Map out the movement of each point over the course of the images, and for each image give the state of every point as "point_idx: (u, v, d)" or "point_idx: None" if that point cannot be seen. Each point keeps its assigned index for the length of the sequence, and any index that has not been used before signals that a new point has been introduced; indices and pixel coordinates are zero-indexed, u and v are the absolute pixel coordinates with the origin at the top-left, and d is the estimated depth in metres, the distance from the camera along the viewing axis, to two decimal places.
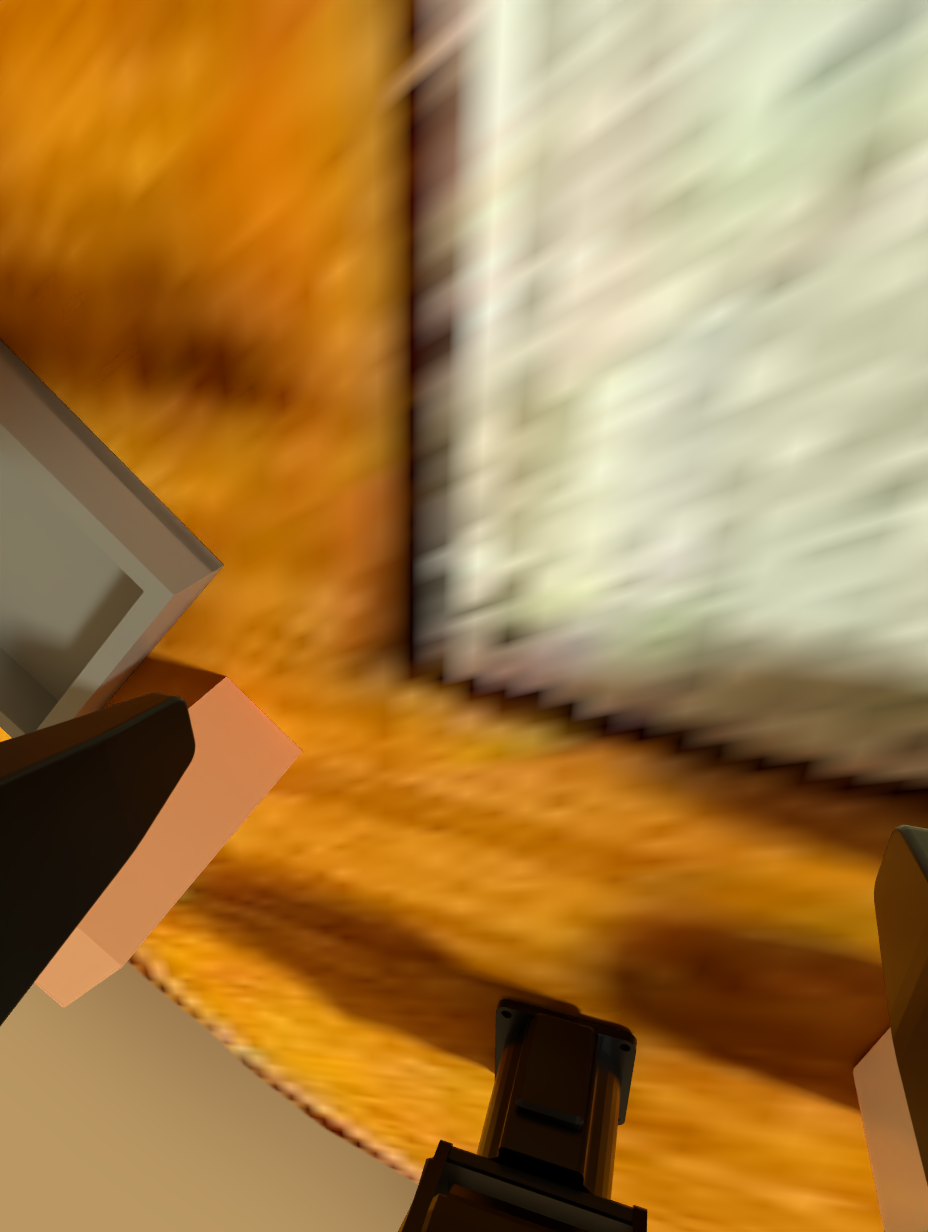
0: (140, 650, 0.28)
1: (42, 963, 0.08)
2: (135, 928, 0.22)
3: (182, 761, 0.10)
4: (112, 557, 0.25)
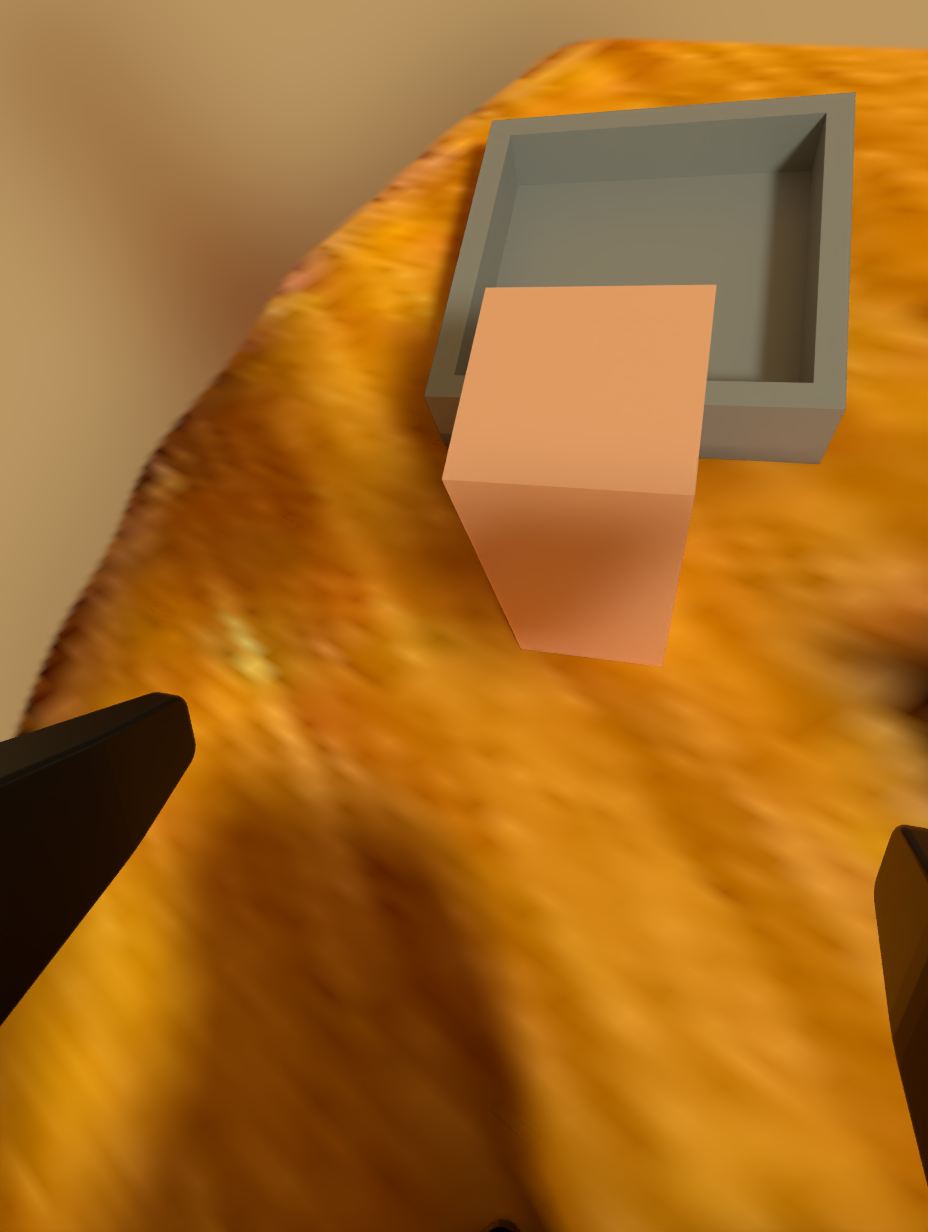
0: None
1: (41, 963, 0.08)
2: None
3: (182, 761, 0.10)
4: (819, 340, 0.21)
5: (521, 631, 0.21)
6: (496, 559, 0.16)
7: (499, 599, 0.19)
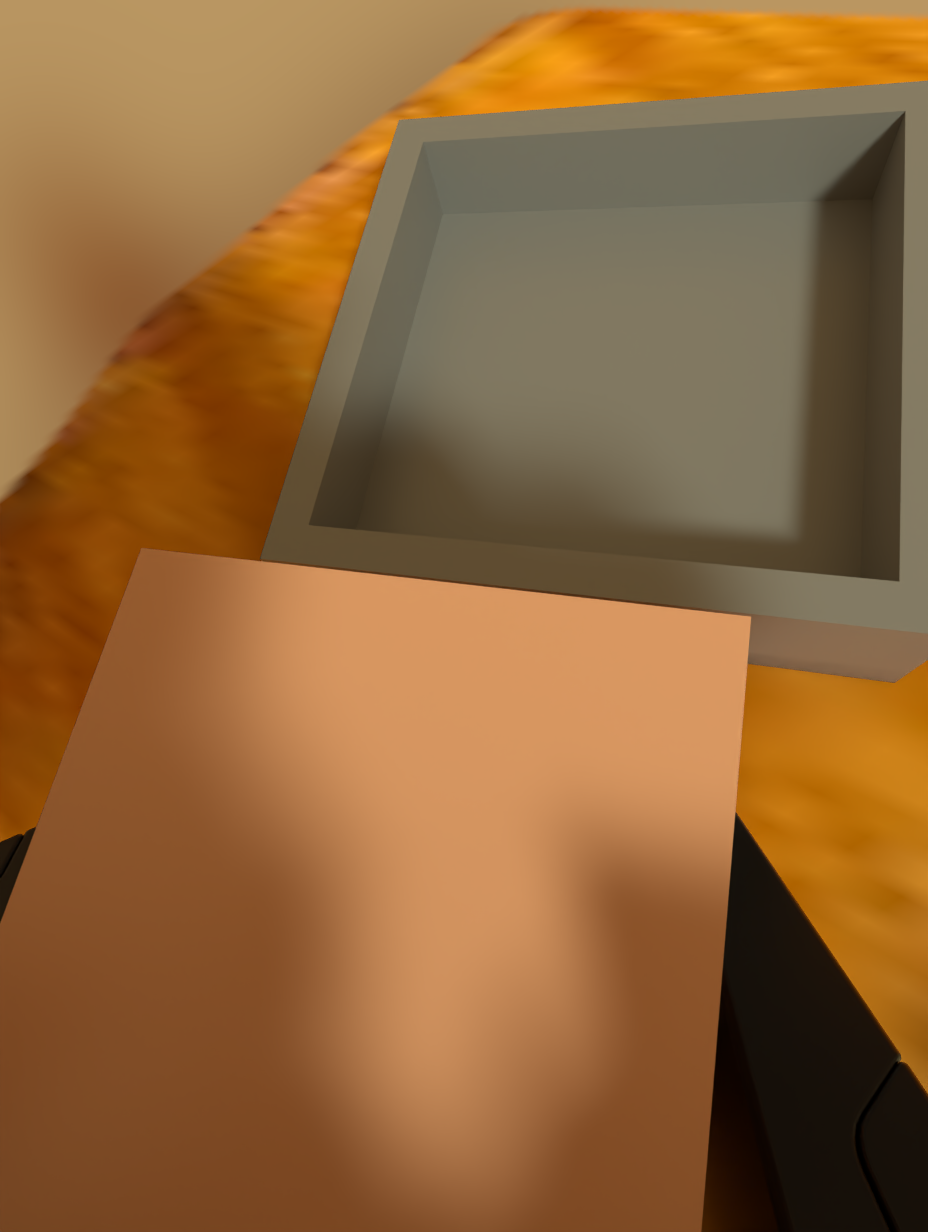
0: None
1: None
2: None
3: None
4: (906, 501, 0.12)
5: None
6: None
7: None
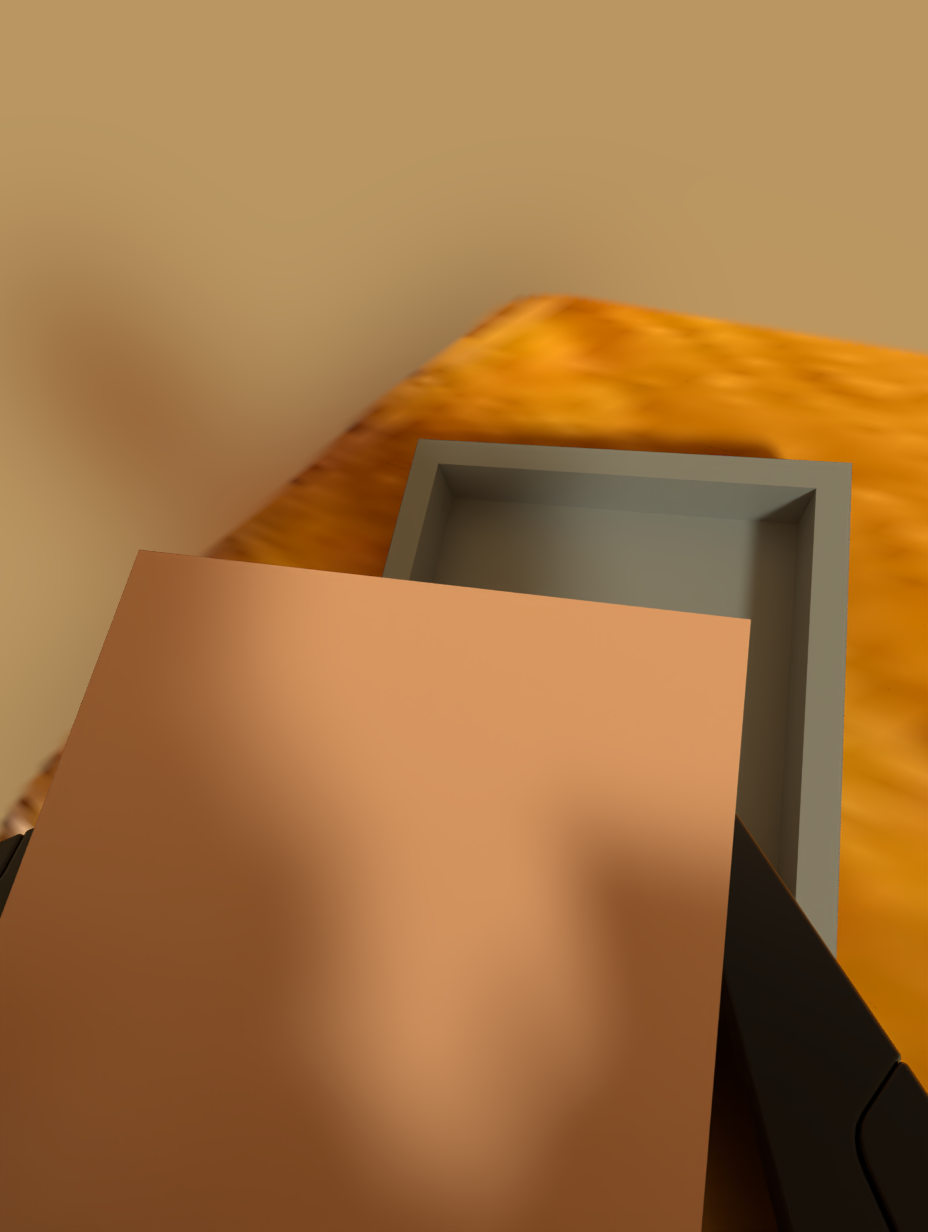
0: None
1: None
2: None
3: None
4: (802, 843, 0.17)
5: None
6: None
7: None
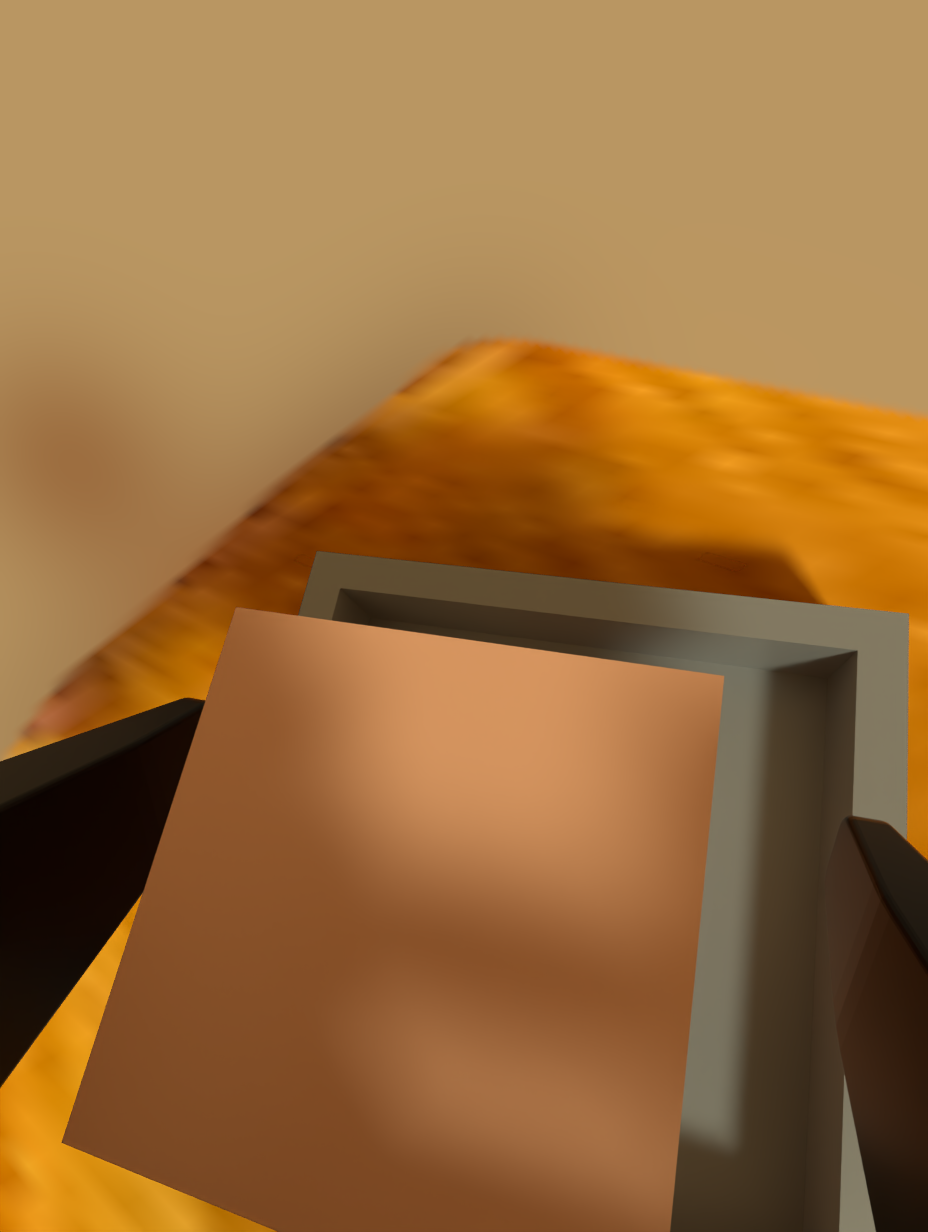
0: None
1: (77, 974, 0.08)
2: None
3: None
4: None
5: None
6: None
7: None
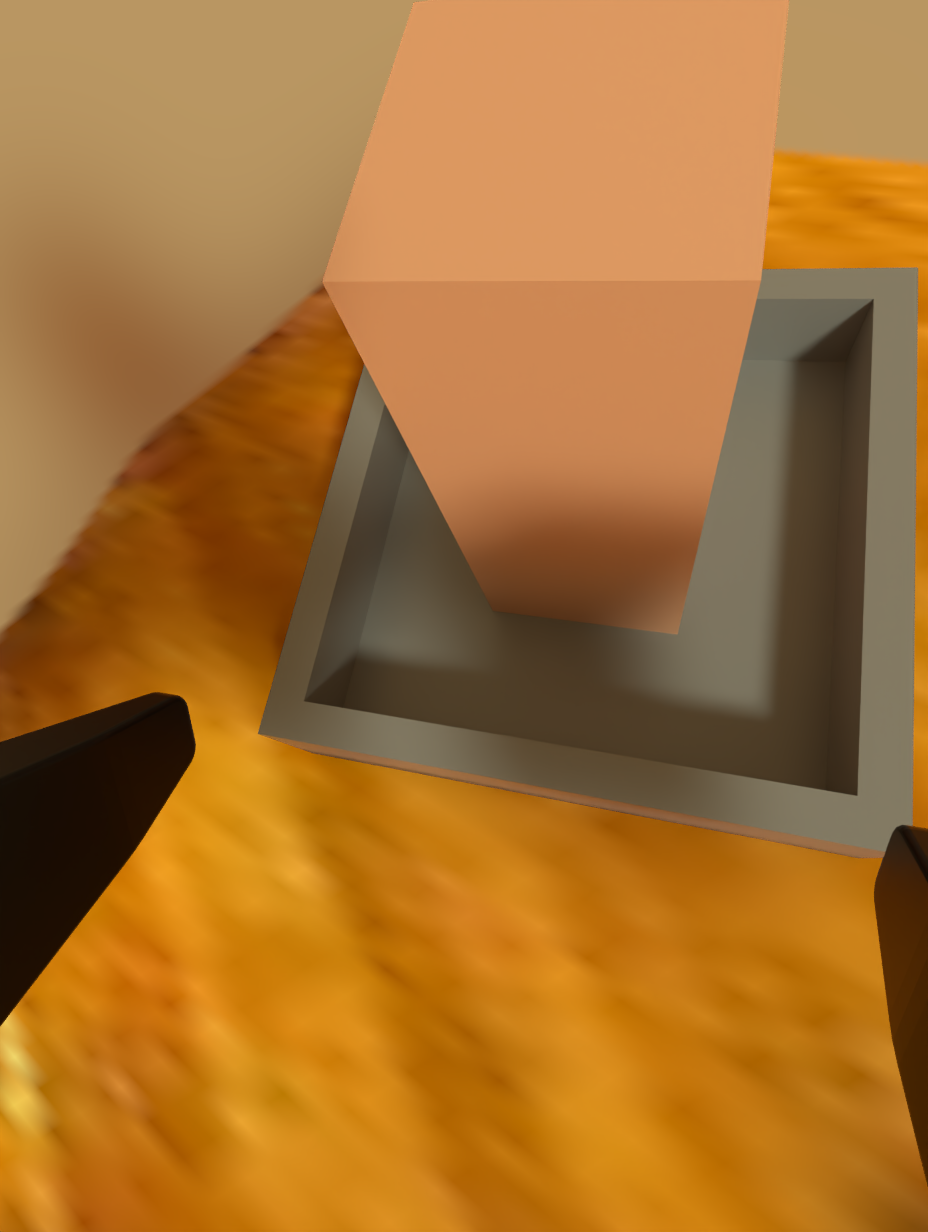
0: (625, 808, 0.15)
1: (42, 962, 0.08)
2: None
3: (182, 761, 0.10)
4: (865, 712, 0.13)
5: (490, 584, 0.16)
6: (438, 457, 0.11)
7: (454, 531, 0.14)
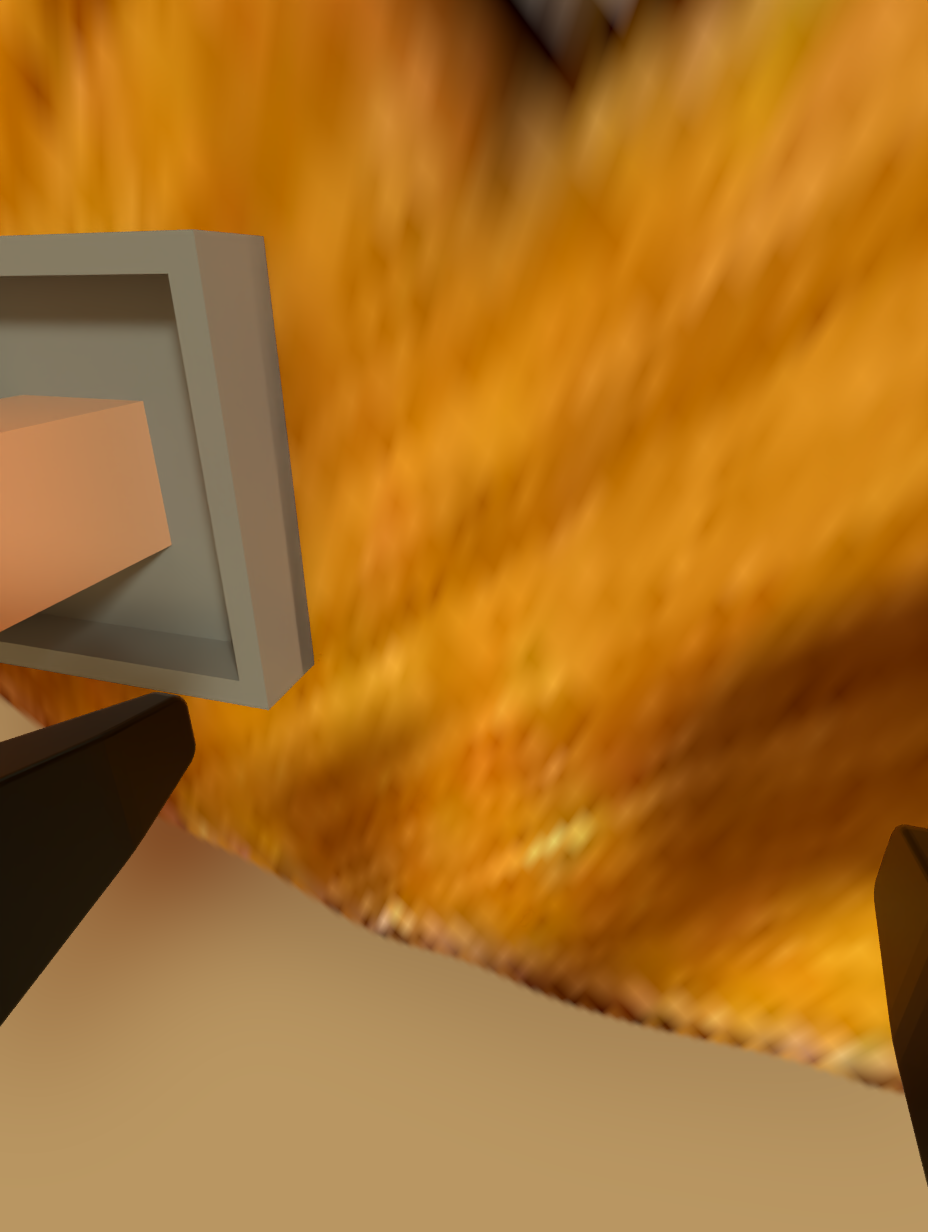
0: (257, 435, 0.19)
1: (42, 963, 0.08)
2: None
3: (182, 761, 0.10)
4: (112, 269, 0.17)
5: (128, 556, 0.21)
6: None
7: (60, 599, 0.19)
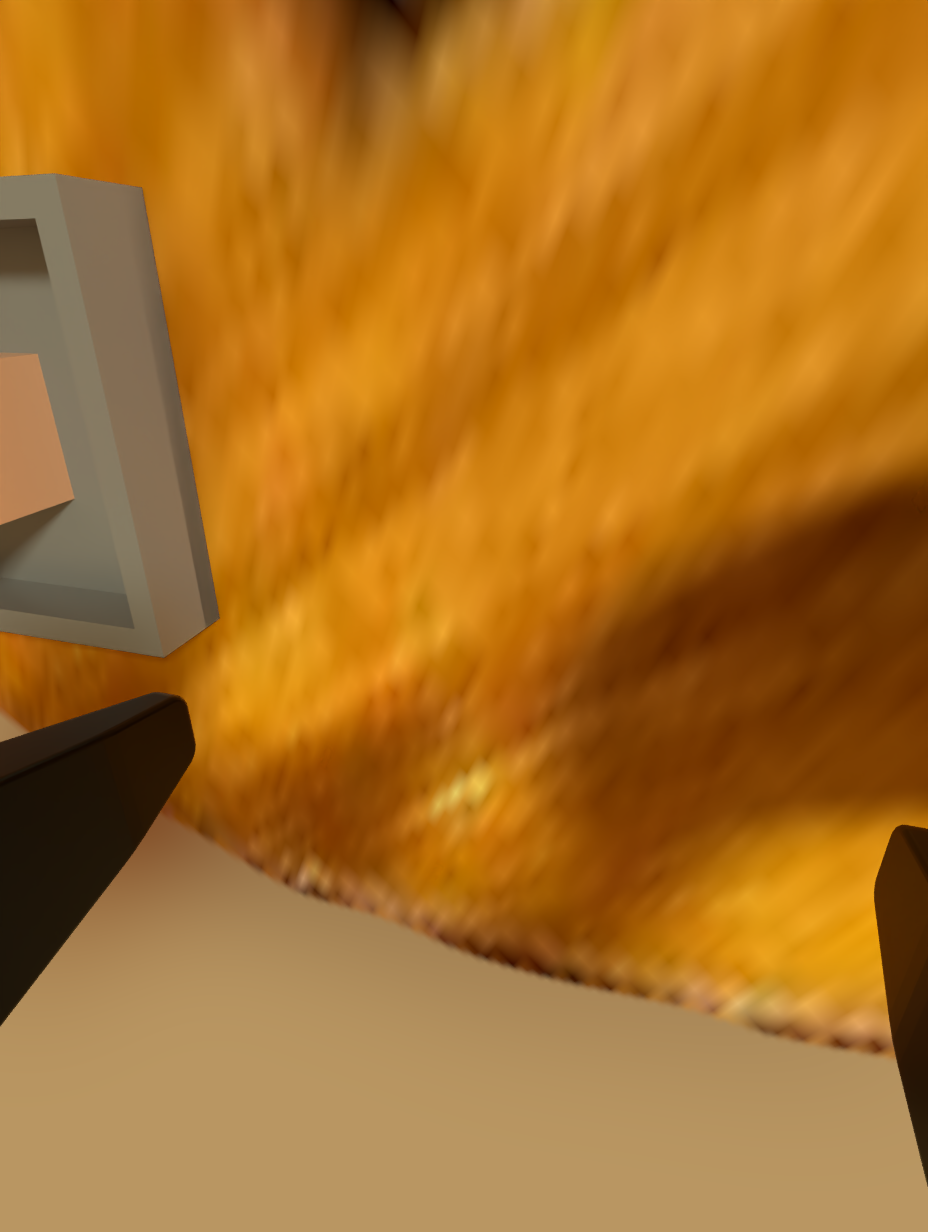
0: (140, 384, 0.20)
1: (41, 963, 0.08)
2: None
3: (182, 761, 0.10)
4: None
5: (24, 506, 0.22)
6: None
7: None
